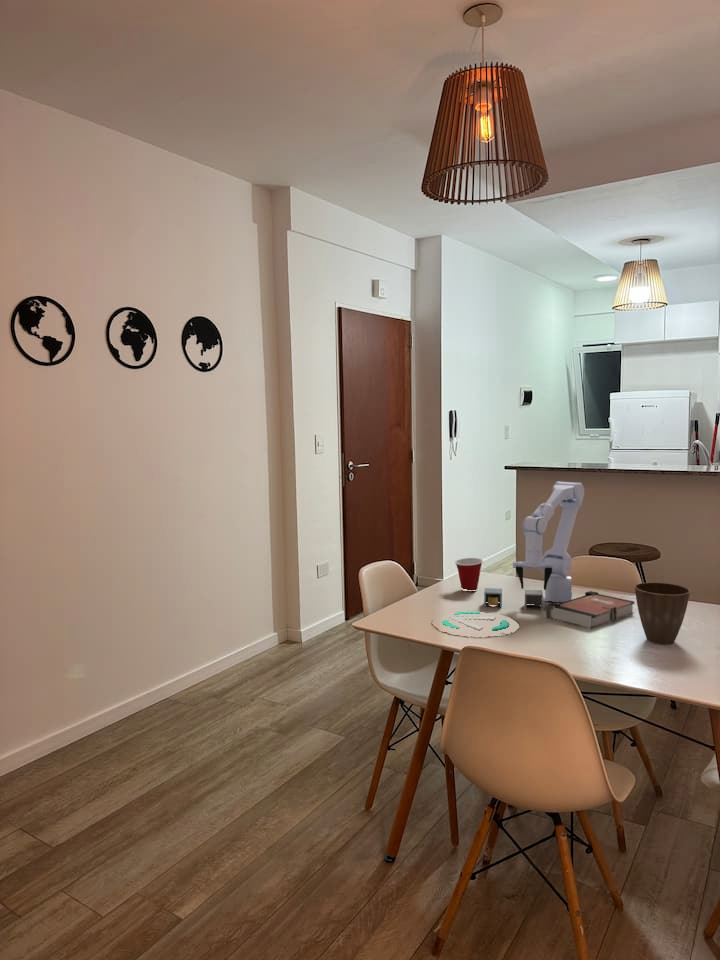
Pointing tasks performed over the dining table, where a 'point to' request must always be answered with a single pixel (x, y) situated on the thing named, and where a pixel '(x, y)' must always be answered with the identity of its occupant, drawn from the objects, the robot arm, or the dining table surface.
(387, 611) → the dining table surface
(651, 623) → the plant pot
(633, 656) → the dining table surface
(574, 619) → the book
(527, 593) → the cover
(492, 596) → the cube
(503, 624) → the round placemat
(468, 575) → the plastic cup
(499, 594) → the cover
